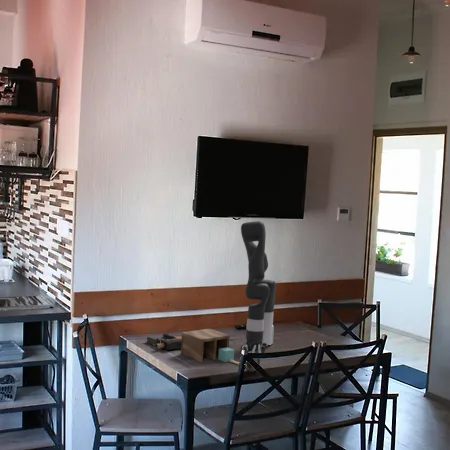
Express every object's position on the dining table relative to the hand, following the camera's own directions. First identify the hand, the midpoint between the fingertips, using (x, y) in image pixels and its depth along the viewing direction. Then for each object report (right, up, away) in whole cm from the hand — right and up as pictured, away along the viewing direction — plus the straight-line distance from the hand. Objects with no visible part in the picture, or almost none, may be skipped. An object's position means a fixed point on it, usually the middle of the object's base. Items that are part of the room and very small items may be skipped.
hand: (252, 367), depth 273 cm
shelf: (-22, +1, +20) cm, 29 cm away
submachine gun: (-38, +3, +38) cm, 54 cm away
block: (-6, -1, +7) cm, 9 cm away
